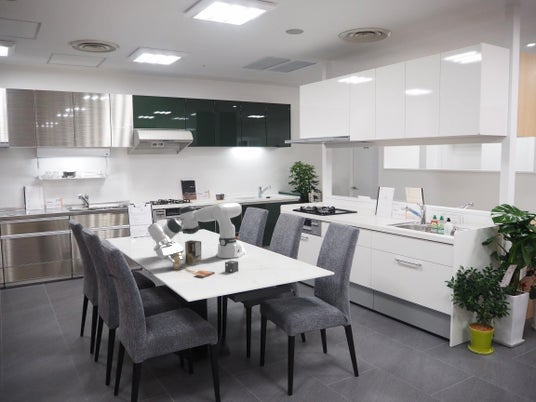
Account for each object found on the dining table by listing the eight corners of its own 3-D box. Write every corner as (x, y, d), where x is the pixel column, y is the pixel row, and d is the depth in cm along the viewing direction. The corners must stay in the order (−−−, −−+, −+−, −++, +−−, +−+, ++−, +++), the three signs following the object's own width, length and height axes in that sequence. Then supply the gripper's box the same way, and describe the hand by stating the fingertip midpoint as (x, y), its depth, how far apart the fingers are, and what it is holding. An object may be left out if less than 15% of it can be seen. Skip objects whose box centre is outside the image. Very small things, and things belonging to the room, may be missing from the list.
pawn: (176, 267, 290) (176, 251, 289) (181, 268, 288) (181, 252, 287) (171, 269, 286) (171, 252, 285) (177, 270, 284) (176, 253, 283)
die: (230, 269, 290) (230, 260, 289) (238, 270, 287) (238, 261, 287) (225, 271, 285) (224, 262, 284) (233, 273, 282) (233, 263, 281)
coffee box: (202, 265, 302) (201, 241, 301) (195, 267, 297) (195, 242, 295) (191, 263, 307) (191, 239, 305) (185, 265, 301) (184, 241, 300)
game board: (176, 267, 295) (176, 265, 294) (214, 273, 280) (214, 271, 280) (164, 271, 284) (164, 270, 284) (202, 278, 270) (202, 276, 270)
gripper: (173, 244, 300) (185, 260, 296) (151, 249, 282) (163, 267, 278) (178, 238, 297) (190, 254, 294) (156, 243, 280) (169, 260, 276)
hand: (177, 260), depth 286 cm, fingers open, 6 cm apart
